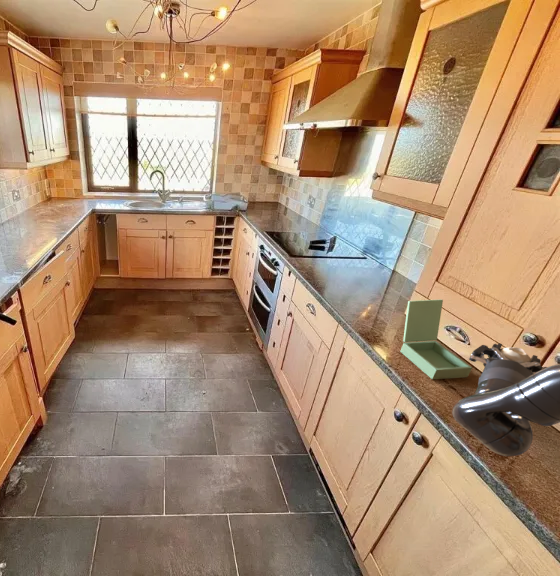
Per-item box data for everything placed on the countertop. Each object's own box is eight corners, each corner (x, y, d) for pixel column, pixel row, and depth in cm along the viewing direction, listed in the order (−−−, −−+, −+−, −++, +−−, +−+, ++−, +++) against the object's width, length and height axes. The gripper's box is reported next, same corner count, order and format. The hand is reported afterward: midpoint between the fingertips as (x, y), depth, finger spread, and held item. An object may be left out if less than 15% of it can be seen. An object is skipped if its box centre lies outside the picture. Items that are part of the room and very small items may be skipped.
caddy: (467, 377, 93) (472, 367, 92) (432, 379, 93) (436, 369, 91) (431, 349, 105) (435, 340, 103) (400, 351, 105) (403, 342, 103)
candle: (492, 371, 81) (510, 341, 77) (519, 386, 77) (539, 354, 72) (479, 377, 80) (497, 346, 75) (506, 392, 75) (526, 359, 71)
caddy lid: (443, 299, 100) (431, 296, 104) (409, 301, 100) (399, 298, 104) (437, 340, 103) (426, 335, 107) (404, 342, 102) (394, 337, 107)
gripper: (563, 389, 60) (567, 354, 69) (468, 353, 70) (483, 327, 79) (543, 416, 63) (550, 379, 73) (455, 379, 73) (471, 350, 83)
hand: (515, 352), depth 76 cm, fingers closed on candle, 5 cm apart
